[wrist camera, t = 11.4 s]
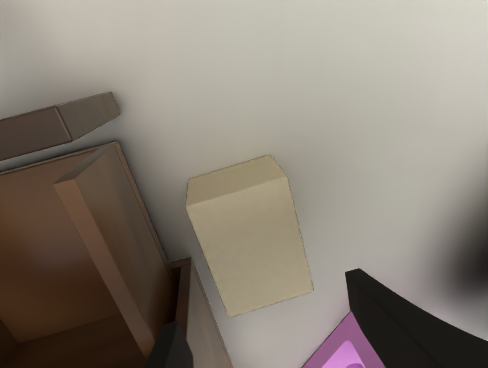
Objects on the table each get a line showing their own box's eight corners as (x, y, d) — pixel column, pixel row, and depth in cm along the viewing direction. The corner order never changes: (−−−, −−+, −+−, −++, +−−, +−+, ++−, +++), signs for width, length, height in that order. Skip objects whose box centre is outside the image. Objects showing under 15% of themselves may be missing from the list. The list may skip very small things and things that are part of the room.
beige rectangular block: (224, 274, 21) (228, 318, 17) (188, 178, 18) (184, 207, 14) (294, 252, 21) (314, 291, 17) (270, 153, 18) (287, 175, 15)
